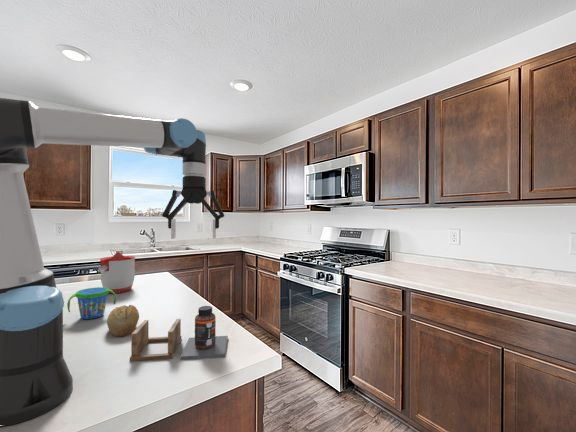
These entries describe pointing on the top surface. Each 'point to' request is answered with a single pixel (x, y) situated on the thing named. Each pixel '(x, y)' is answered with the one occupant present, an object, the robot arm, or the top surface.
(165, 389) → the top surface
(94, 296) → the snack cup
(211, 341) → the supplement bottle
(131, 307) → the bread roll
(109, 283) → the citrus juicer
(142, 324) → the rack
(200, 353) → the coaster
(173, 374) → the top surface
